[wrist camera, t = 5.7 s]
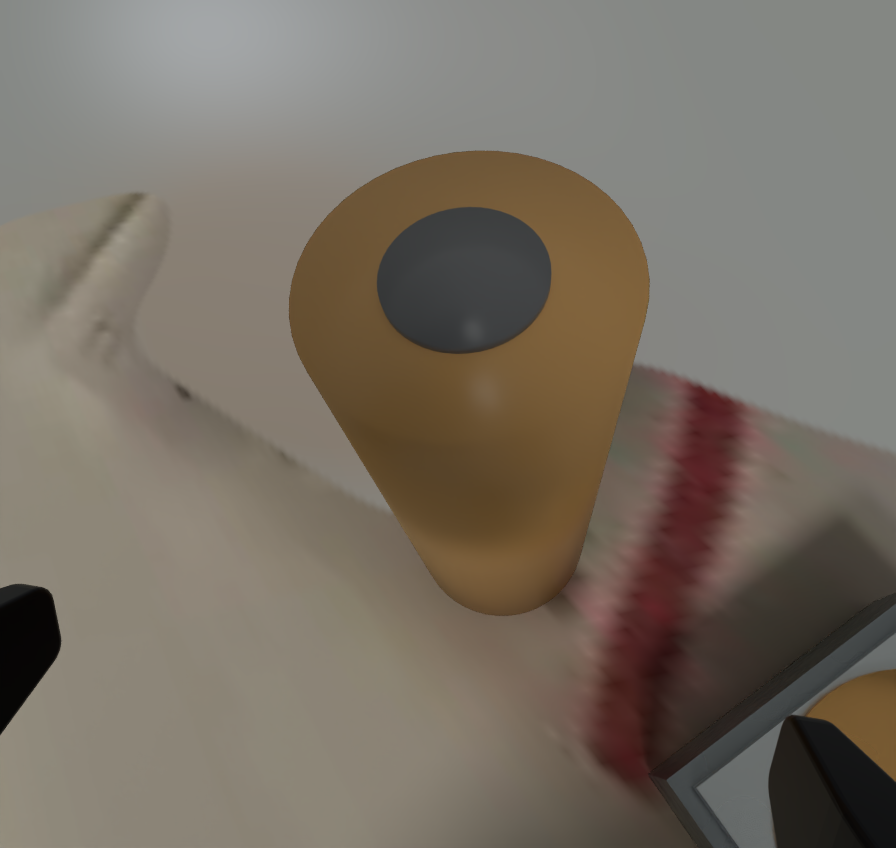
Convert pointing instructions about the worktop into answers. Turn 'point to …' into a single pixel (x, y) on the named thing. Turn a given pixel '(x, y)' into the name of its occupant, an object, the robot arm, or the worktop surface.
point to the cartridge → (477, 358)
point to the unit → (759, 723)
